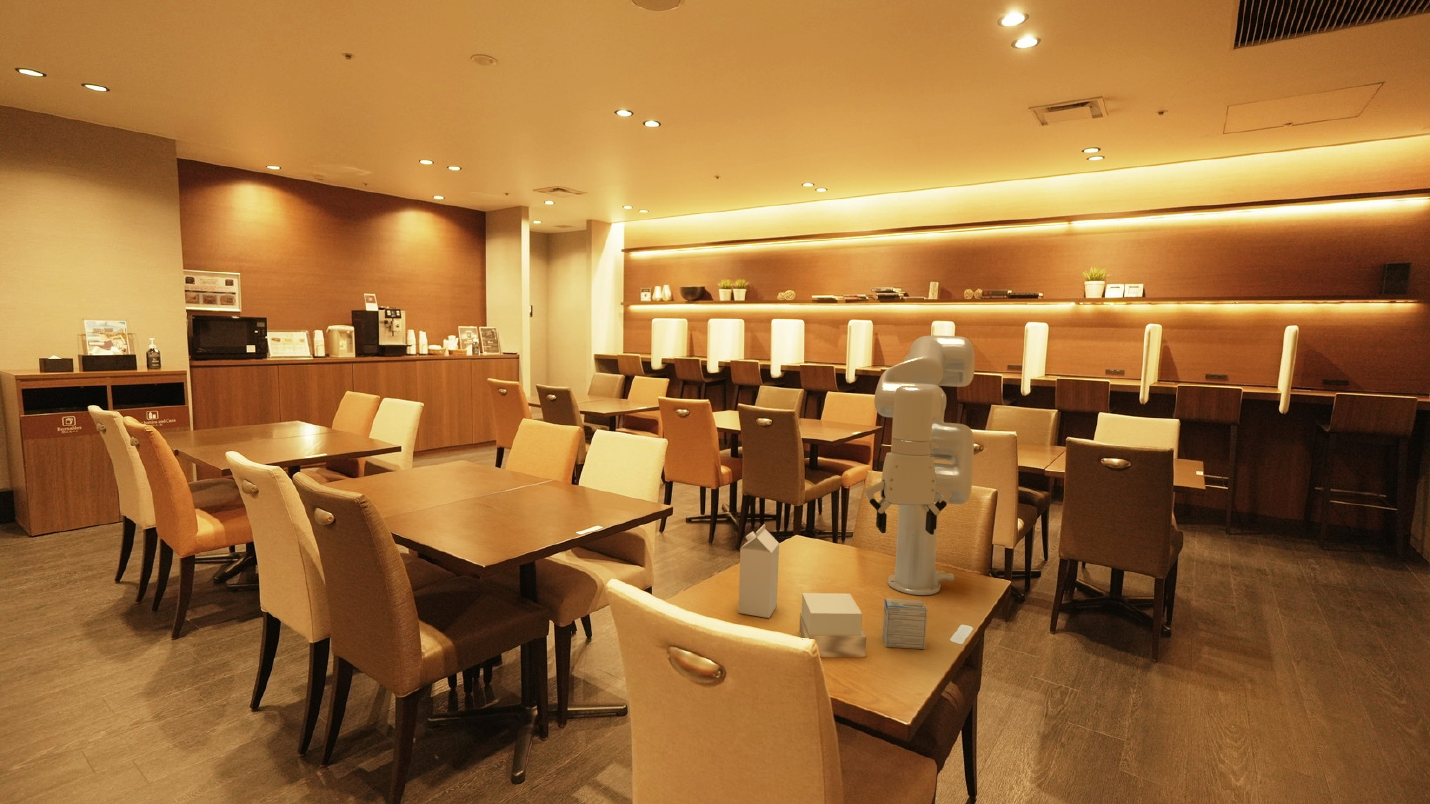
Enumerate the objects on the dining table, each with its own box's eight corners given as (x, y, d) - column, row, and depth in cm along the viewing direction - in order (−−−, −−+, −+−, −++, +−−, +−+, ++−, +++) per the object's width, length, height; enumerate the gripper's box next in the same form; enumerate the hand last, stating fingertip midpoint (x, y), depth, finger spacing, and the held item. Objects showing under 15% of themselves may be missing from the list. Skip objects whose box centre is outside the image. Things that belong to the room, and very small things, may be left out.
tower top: (848, 614, 140) (849, 593, 140) (861, 635, 130) (862, 613, 130) (801, 613, 140) (802, 593, 139) (810, 635, 130) (811, 613, 129)
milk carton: (776, 606, 153) (780, 525, 151) (769, 619, 146) (772, 534, 144) (747, 601, 155) (749, 522, 153) (738, 613, 148) (740, 530, 146)
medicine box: (920, 640, 138) (923, 599, 137) (925, 650, 134) (928, 608, 133) (881, 637, 139) (884, 597, 138) (885, 647, 134) (887, 606, 133)
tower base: (850, 633, 141) (851, 612, 141) (865, 658, 130) (866, 636, 130) (799, 633, 141) (800, 612, 140) (809, 658, 130) (810, 636, 129)
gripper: (947, 446, 137) (941, 528, 138) (863, 443, 136) (858, 525, 138) (961, 452, 129) (955, 538, 131) (872, 449, 129) (867, 536, 130)
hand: (905, 532), depth 134 cm, fingers open, 9 cm apart
